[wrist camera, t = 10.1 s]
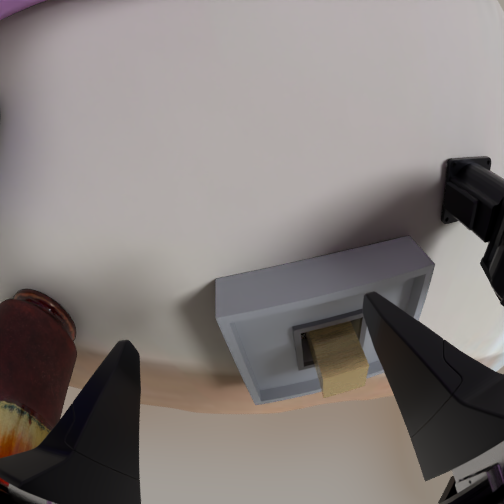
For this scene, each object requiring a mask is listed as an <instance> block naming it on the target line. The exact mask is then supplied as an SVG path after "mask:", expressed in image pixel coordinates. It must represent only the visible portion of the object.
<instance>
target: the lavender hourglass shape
mask: <svg viewBox="0 0 504 504" xmlns="http://www.w3.org/2000/svg"><path fill="white" fill-rule="evenodd" d="M43 1H46V0H0V20H2V19H4V18H6V17H8V16H10V15H12V14H14V13H17V12H19V11H21V10H23V9H26V8H28V7H31V6H33V5H36V4H38V3H41V2H43Z"/></svg>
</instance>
